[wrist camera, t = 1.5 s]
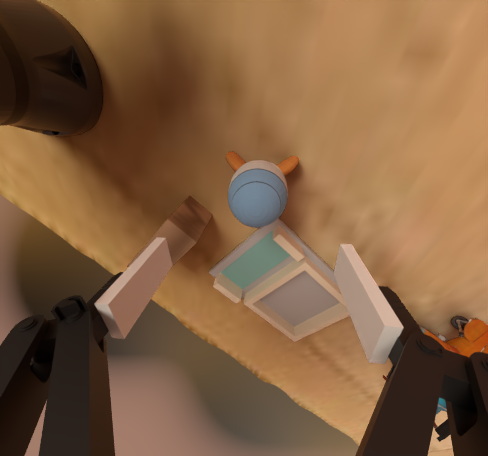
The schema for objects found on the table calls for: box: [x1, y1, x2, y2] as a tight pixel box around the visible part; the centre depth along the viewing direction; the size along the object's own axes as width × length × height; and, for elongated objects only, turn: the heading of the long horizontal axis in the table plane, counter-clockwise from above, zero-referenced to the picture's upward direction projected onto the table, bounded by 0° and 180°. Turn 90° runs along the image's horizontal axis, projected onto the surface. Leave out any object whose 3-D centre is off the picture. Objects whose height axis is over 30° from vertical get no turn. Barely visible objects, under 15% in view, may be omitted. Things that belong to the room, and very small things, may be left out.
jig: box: [209, 218, 350, 342], centre depth 40 cm, size 24×18×4 cm
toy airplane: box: [383, 316, 488, 442], centre depth 39 cm, size 29×23×15 cm
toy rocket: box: [226, 152, 299, 228], centre depth 27 cm, size 10×11×15 cm
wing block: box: [127, 196, 212, 267], centre depth 35 cm, size 5×12×9 cm, turn 137°
